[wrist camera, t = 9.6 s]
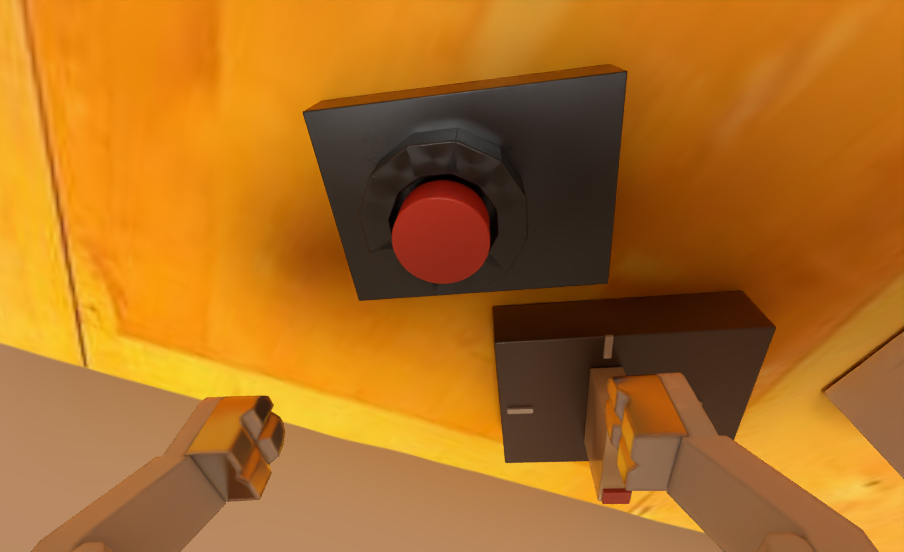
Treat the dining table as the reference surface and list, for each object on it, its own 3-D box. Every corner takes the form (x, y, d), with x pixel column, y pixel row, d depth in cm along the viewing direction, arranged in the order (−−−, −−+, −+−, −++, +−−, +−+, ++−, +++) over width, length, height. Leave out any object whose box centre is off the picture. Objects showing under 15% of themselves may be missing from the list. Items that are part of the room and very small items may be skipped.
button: (485, 174, 15) (486, 191, 14) (492, 257, 17) (494, 280, 16) (390, 183, 16) (381, 201, 14) (408, 264, 18) (401, 287, 16)
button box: (611, 63, 16) (644, 78, 13) (597, 259, 21) (619, 307, 18) (320, 100, 18) (282, 122, 14) (368, 277, 23) (349, 324, 19)
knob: (589, 367, 21) (609, 430, 18) (622, 366, 21) (647, 429, 18) (583, 441, 24) (599, 506, 21) (612, 441, 24) (631, 506, 21)
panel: (743, 288, 22) (780, 327, 19) (704, 417, 27) (728, 462, 24) (492, 304, 23) (493, 343, 20) (503, 424, 28) (505, 466, 26)
